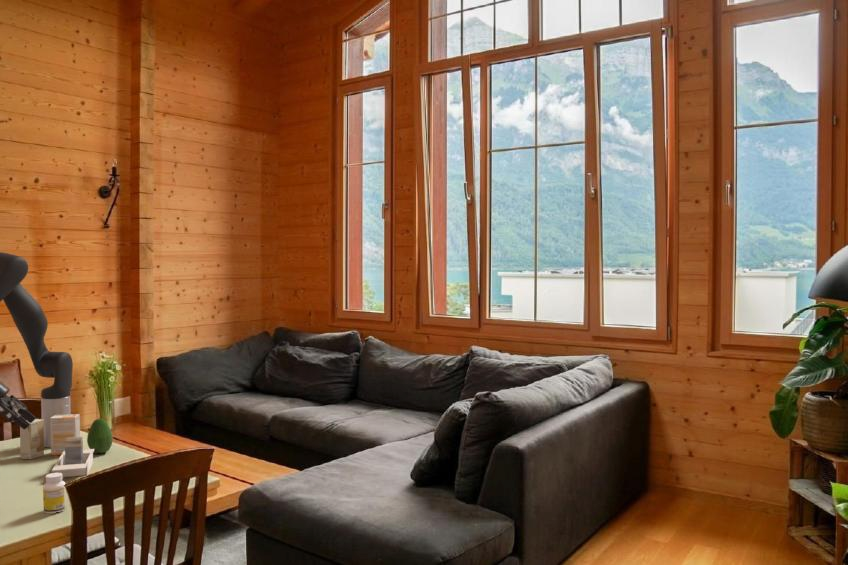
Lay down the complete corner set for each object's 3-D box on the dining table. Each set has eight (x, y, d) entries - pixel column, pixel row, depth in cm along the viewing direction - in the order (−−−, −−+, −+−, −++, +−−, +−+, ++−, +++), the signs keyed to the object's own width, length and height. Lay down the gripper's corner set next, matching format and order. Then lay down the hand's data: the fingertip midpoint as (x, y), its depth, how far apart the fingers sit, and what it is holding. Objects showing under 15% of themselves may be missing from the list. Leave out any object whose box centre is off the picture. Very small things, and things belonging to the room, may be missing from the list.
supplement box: (81, 451, 244) (80, 413, 243) (76, 455, 239) (75, 417, 239) (56, 451, 243) (55, 414, 242) (50, 455, 238) (49, 417, 238)
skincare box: (31, 459, 233) (30, 423, 233) (19, 459, 234) (19, 422, 234) (45, 454, 240) (44, 418, 239) (34, 453, 241) (33, 418, 240)
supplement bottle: (48, 507, 191) (48, 471, 191) (69, 506, 192) (69, 471, 191) (39, 514, 186) (39, 478, 185) (61, 514, 186) (60, 477, 186)
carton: (63, 461, 232) (63, 451, 232) (94, 459, 235) (94, 448, 235) (51, 481, 212) (51, 470, 212) (85, 479, 215) (85, 467, 215)
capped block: (67, 468, 224) (67, 437, 224) (83, 467, 226) (82, 436, 225) (65, 472, 221) (64, 441, 220) (81, 471, 222) (80, 440, 222)
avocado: (99, 448, 247) (99, 415, 246) (117, 451, 244) (117, 417, 244) (81, 455, 239) (81, 420, 239) (100, 457, 237) (99, 422, 236)
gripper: (-9, 384, 209) (35, 420, 213) (3, 376, 222) (44, 409, 226) (-29, 403, 207) (15, 438, 211) (-16, 393, 221) (26, 427, 225)
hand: (30, 423), depth 219 cm, fingers open, 8 cm apart
